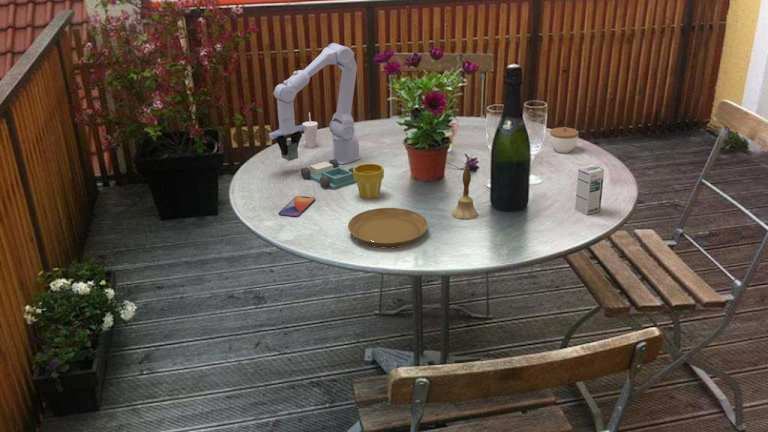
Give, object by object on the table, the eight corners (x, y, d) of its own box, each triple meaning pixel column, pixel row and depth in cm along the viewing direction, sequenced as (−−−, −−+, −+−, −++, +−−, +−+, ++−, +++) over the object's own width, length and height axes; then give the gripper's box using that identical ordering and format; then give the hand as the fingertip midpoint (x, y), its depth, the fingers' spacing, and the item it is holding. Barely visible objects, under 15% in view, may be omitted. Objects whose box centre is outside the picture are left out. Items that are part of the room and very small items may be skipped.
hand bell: (473, 208, 235) (475, 161, 228) (481, 218, 228) (483, 171, 221) (449, 210, 234) (449, 164, 227) (455, 220, 226) (456, 173, 220)
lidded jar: (579, 154, 278) (582, 131, 274) (551, 155, 278) (553, 132, 274) (573, 145, 288) (575, 123, 284) (546, 146, 288) (548, 123, 284)
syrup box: (586, 215, 228) (591, 172, 222) (574, 208, 232) (578, 166, 226) (600, 211, 230) (605, 169, 224) (587, 205, 235) (591, 163, 229)
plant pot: (347, 195, 247) (346, 169, 243) (368, 187, 253) (368, 160, 249) (369, 203, 240) (368, 176, 236) (390, 194, 247) (390, 167, 243)
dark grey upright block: (290, 154, 269) (289, 139, 267) (298, 158, 266) (296, 142, 263) (281, 157, 267) (280, 142, 264) (289, 160, 263) (287, 145, 261)
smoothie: (320, 143, 297) (318, 110, 291) (317, 149, 291) (315, 115, 285) (305, 143, 298) (302, 110, 292) (302, 148, 292) (299, 115, 286)
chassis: (329, 166, 273) (329, 156, 271) (362, 180, 259) (361, 170, 257) (298, 175, 265) (297, 165, 263) (329, 191, 251) (329, 180, 249)
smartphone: (277, 216, 234) (277, 213, 233) (296, 198, 247) (296, 195, 246) (298, 219, 232) (298, 216, 231) (316, 200, 244) (316, 197, 244)
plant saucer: (422, 254, 207) (422, 244, 206) (340, 249, 211) (339, 239, 210) (431, 219, 229) (431, 209, 227) (357, 215, 233) (357, 205, 231)
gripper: (297, 111, 267) (300, 146, 272) (263, 119, 259) (266, 155, 264) (308, 115, 262) (310, 150, 267) (273, 123, 254) (277, 160, 259)
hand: (289, 153), depth 266 cm, fingers closed on dark grey upright block, 4 cm apart
